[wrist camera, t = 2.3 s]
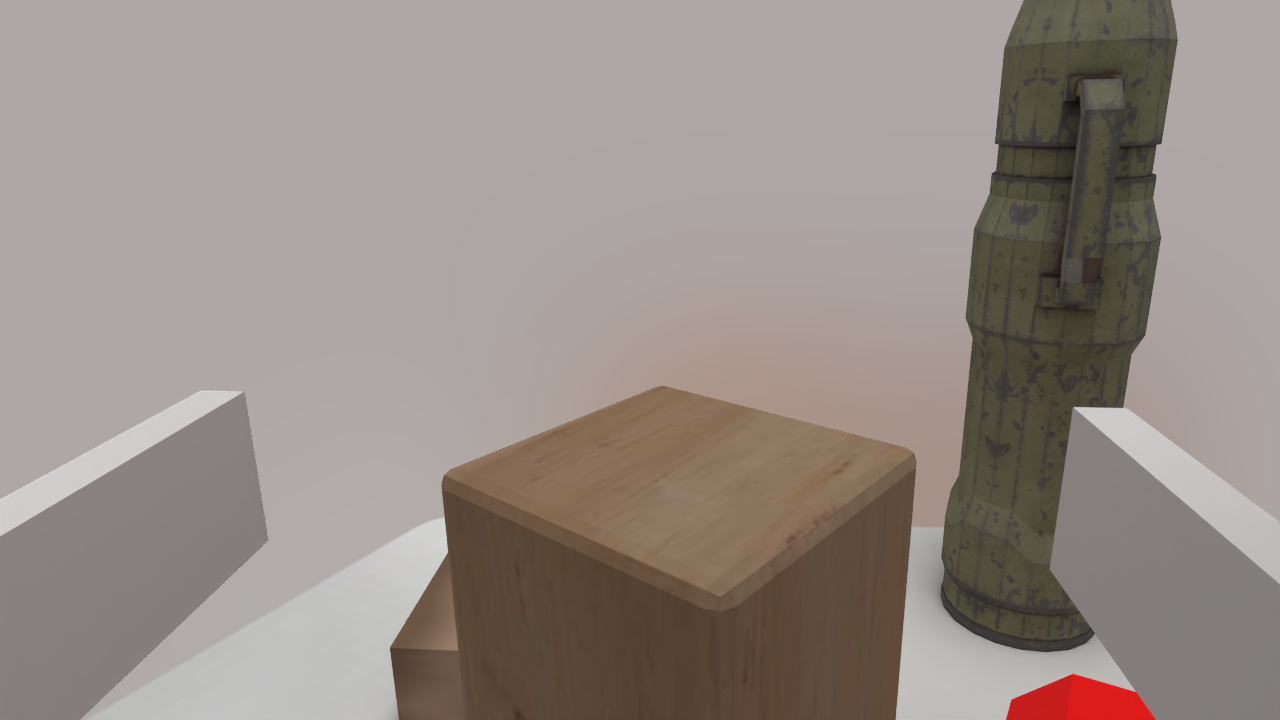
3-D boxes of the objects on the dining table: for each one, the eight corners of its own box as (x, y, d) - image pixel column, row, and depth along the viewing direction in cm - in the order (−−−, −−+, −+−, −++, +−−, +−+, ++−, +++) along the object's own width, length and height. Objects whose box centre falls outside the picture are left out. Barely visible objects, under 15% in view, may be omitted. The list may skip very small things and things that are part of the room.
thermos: (1066, 561, 55) (1149, -11, 45) (1130, 677, 44) (1259, -47, 34) (927, 551, 57) (976, -3, 47) (954, 659, 46) (1027, -35, 36)
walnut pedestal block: (685, 608, 51) (685, 520, 49) (673, 769, 39) (672, 659, 37) (479, 600, 52) (471, 514, 51) (403, 754, 40) (389, 647, 38)
